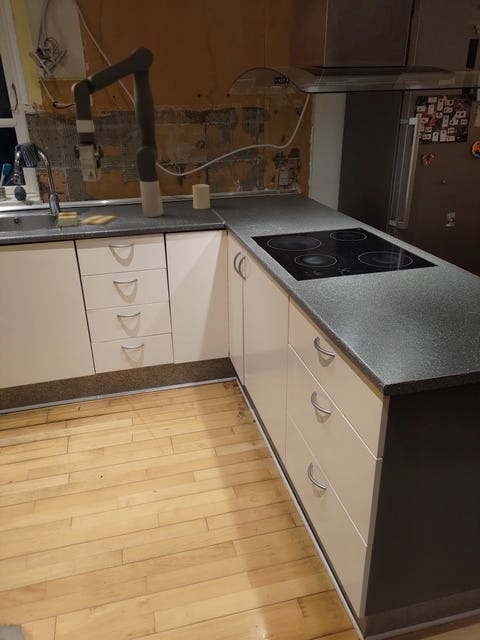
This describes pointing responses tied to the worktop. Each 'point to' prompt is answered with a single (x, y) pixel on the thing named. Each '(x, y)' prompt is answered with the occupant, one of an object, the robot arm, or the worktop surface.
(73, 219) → the sage block
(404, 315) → the worktop surface
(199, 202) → the can
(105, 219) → the birch board
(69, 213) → the oak block
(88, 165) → the coffee box
